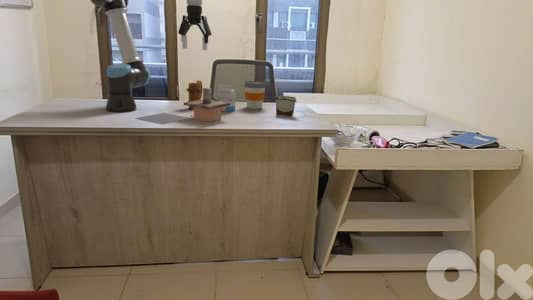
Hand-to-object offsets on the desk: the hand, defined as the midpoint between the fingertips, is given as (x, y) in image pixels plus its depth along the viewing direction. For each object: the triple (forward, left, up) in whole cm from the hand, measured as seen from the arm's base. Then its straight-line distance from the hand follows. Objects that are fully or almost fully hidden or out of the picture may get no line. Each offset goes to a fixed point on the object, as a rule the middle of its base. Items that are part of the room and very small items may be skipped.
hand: (194, 49), depth 197 cm
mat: (+1, -24, -33) cm, 41 cm away
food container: (+40, +29, -33) cm, 59 cm away
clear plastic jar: (+9, +16, -33) cm, 38 cm away
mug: (-8, +10, -33) cm, 35 cm away
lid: (+16, -9, -26) cm, 32 cm away
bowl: (+16, -9, -33) cm, 38 cm away
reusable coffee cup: (+15, +35, -33) cm, 50 cm away
